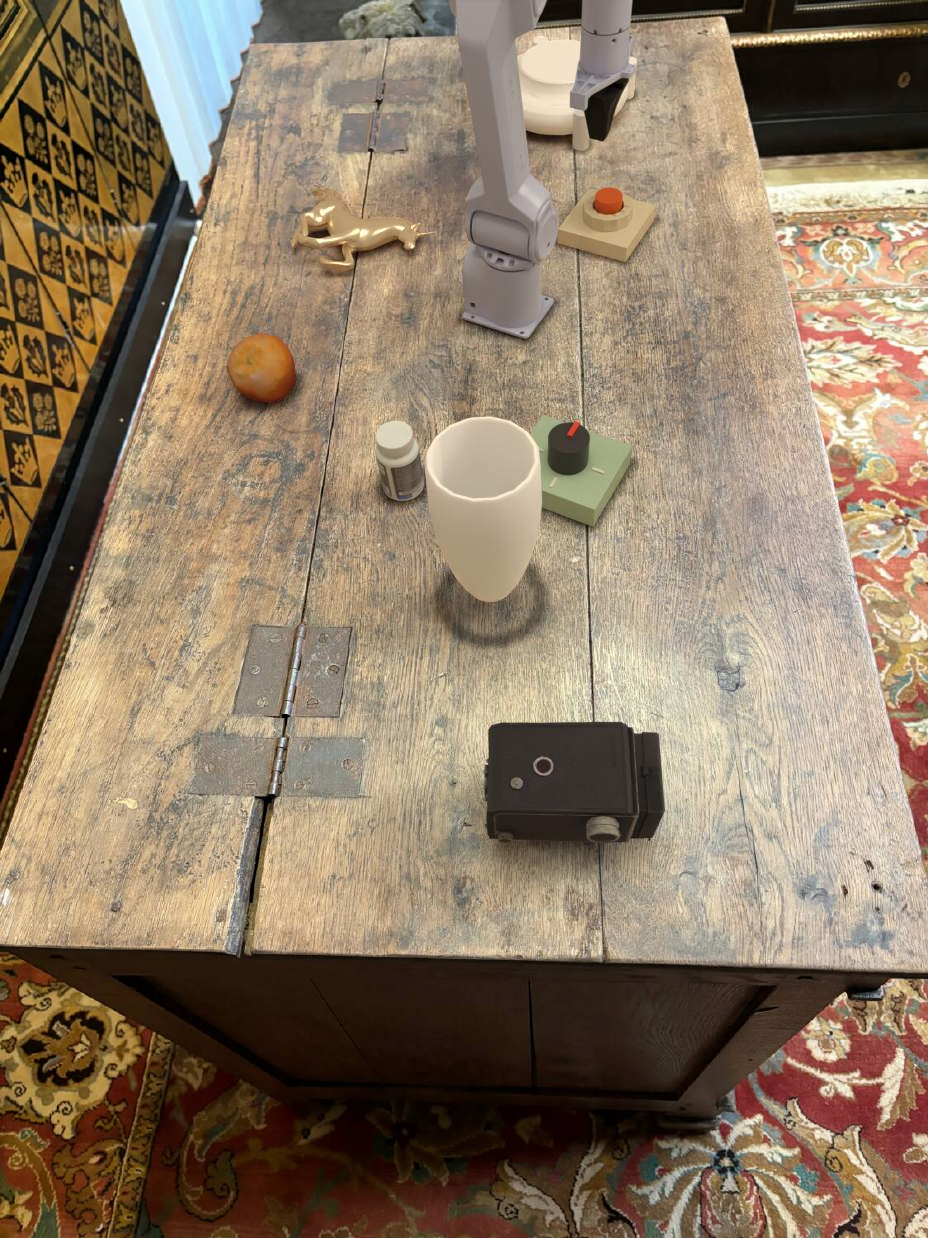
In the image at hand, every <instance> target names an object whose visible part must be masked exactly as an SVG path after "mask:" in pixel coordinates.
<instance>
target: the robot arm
mask: <svg viewBox="0 0 928 1238" xmlns="http://www.w3.org/2000/svg"><path fill="white" fill-rule="evenodd" d="M447 1H448V5H449V6H448V7H449V11H450V12H451V14H452V15H453V16H454V17H455V19H456V31H457V42H458V49H459V54H460V61H461V66H462V72H463V76H464V83H465V89H466V94H467V100H468V106H469V111H470V116H471V117H470V118H471V123H472V129H473V134H474V139H475V146H476V152H477V157H478V163H479V168H480V174H481V175H479V176H478V177H477V178H476V179H475V180H474V182H473V183H472V185H471V187H470V189H469V190H468V192H467V195H466V197H465V200H464V202H465V218H464V230H465V234H466V238H467V240H468V242H469V243H470V245H469V246H468V248H467V250H466V253H465V255H464V259H463V263H462V273H461V275H462V276H461V277H462V289H463V291H462V292H463V302H464V303H463V304H464V312H463V313H462V314H461V317H462V318H461V319H463V320H464V321H468V322H471V323H473V324H477V325H480V326H484V327H486V328H489V329H493V330H496V331H498V332H502V333H505V334H508V335H511V336H514V337H518V338H520V339H524V340H527V339H529V338H530V337H531V335H532V334H533V333H534V331H535V330H536V329H537V327H538V325H539V324H540V323H541V322H542V320H543V319H544V317H545V316H546V315H547V313H548V312H549V311H550V309H551V308H552V306H553V305H554V303H555V300H554V298H553V297H550V296H547V295H543V262H544V261H545V260H546V259H547V258H548V257H549V256H550V255H551V253H552V251H553V249H554V247H555V245H556V242H557V236H558V229H559V227H560V219H559V215H558V212H557V210H556V209H557V208H556V207H555V206H554V205H553V199H552V193H551V192H550V191H549V190H548V189H547V188H546V187H545V186H544V185H543V184H542V183H541V182H540V181H538V179H536V177H534V175H532V173H531V167H530V158H529V150H528V142H527V132H526V131H527V130H525V122H524V113H523V104H522V96H521V87H520V78H519V69H518V60H517V56H518V52H517V44H516V40H517V38H519V37H522V36H523V35H525V34H527V33H530V32H531V31H533V30H535V29H536V26H537V24H538V22H539V19H540V16H541V15H542V13H543V12H544V9H545V7H546V5H547V1H548V0H447ZM632 10H633V0H581V19H580V20H581V21H580V22H581V23H580V24H581V25H580V42H581V43H580V60H579V61H578V66H577V72H576V78H575V83H574V86H573V88H572V90H571V91H570V108H574V109H578V110H582V111H584V114H585V119H586V124H587V129H588V134H589V140H590V139H591V140H594V141H599V142H605V140H606V139H607V138H608V136H609V133H610V130H611V128H612V124H613V120H614V117H615V116H614V114H615V110H616V107H617V104H618V102H619V99H620V97H621V95H622V93H623V91H624V89H625V87H626V86H627V84H628V82H629V78H631V77H632V76H633V75H634V73H635V71H636V72H637V69H636V66H635V65H633V64H630V63H629V57H631V55H632V54H633V53H634V48H635V38H636V37H635V35H632V34H630V33H631V22H632Z"/></svg>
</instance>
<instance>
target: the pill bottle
mask: <svg viewBox="0 0 928 1238" xmlns="http://www.w3.org/2000/svg"><path fill="white" fill-rule="evenodd" d="M374 438H375V443H376V446H375V449H374V454H375V459H376V463H377V467H378V472H379V475H380V482H381V486H382V490H383V491H384V494H385V495H386V496H387V497H388V498H390V499H392V500H394V501H397V502H408V501H410V500H413V499H415V498H417V497H419V495H420V494H421V493H422V492H423V490H424V487H425V477H424V471H423V465H422V460H421V452H420V446H419V443H418V441H417V440H416V438H415V435H414V432H413V429H412V427H411V426H410V424H408V423H407V422H405V421H402V420H390V421H387V422H385V423H383V424H381V425H380V426H379V427H378V428H377V430H376V432H375V436H374Z"/></svg>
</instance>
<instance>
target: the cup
mask: <svg viewBox="0 0 928 1238" xmlns="http://www.w3.org/2000/svg"><path fill="white" fill-rule="evenodd" d="M424 473H425V486H426V496H427V507H428V512H429V517H430V521H431V526H432V531H433V535H434V538H435V542H436V543H437V545H438V547H439V549H440V551H441V553H442V556H443V558H444V560H445V561H446V564H447V565H448V567H449V569H450V571H451V573H452V574H453V576H454V577H455V579H456V580H457V582H458V583H459V584H460V586H462V588H463V589H464V590H465V591H467V592H468V593H469V594H470V595H472V596H473V598H475V599H477V600H478V601H481V602H485V603H497V602H499V601H501V600H504V599H505V598H507V596H508V595H509V594H510V593H511V592H512V591H514V589H516V587H517V586H518V584H520V581H521V580H522V578H523V577H524V574H525V573H526V571H527V568H528V566H529V563H530V561H531V558H532V556H533V552H534V550H535V548H536V543H537V540H538V538H539V535H540V528H541V517H542V509H543V508H542V489H541V464H540V454H539V447H538V445H537V444H536V443H535V441H534V440H533V438H532V437H531V435H530V432H529V431H528V430H526V429H524V428H523V427H521V426H520V425H518V424H516V423H515V422H513V421H511V420H509V419H504V418H499V417H494V416H491V415H490V416H489V415H488V416H477V417H467V418H464V419H462V420H460V421H456V422H454V423H451V424H449V425H448V426H447V427H446V428H444V429H443V430H442V431H440V433H438V434H437V435H436V436H435V437H433V438H432V441H431V442H430V444H429V446H428V448H427V450H426V452H425V454H424Z"/></svg>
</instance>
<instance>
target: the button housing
mask: <svg viewBox="0 0 928 1238" xmlns="http://www.w3.org/2000/svg"><path fill="white" fill-rule="evenodd" d="M599 190H600V189H596V188H591V187H588V188H587V190H586V191H585V193H584V194H583V195H582V197H581V198H579V200H578V201H577V203H576V204H575V206H574V207H573V208H572V209H571V211H570V212H569V213H568V215H567V217H565V218H564V220H563V221H562V222H561V224H559V229H558V234H557V238H556V242H557V244H559V245H563V246H567V247H570V248H573V249H577V250H581V251H583V252H587V253H591V254H594V255H599V256H601V257H606V258H609V259H613V260H616V261H620V262H623V263H626V262H627V261H628V259H629V258H630V256H631V255H632V254H633V251H635V249H636V248H637V246H638V245H639V243H640V242H641V240H642V238H643V237H644V236H645V235H646V233H647V232H648V230H649V229H650V227H651V225H652V224H653V223H654V221H655V219H656V218H655V217H656V211H657V205H656V204H653V203H649V202H645V201H641V200H637V199H633V198H631V197H630V196H628V195H627V194H626V193H624V192H622V194H623V199H622V208H621V210H620V212H618V213H616V214H610V215H605V214H601V213H598V212H597V211H596V210H595V195H596V193H597V191H599Z"/></svg>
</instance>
